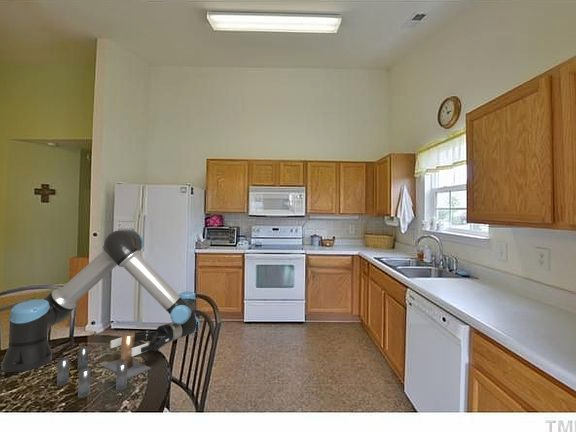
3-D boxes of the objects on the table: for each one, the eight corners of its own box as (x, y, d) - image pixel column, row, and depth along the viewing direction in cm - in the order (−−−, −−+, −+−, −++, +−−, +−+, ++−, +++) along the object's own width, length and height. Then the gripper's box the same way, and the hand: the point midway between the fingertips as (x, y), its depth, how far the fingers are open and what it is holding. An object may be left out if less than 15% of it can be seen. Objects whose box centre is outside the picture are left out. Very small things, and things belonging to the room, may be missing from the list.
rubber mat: (101, 366, 119) (102, 365, 119) (124, 358, 127) (124, 357, 127) (128, 378, 111) (128, 377, 111) (150, 369, 118) (150, 367, 118)
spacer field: (47, 379, 109) (48, 356, 109) (84, 366, 119) (85, 345, 120) (90, 404, 94) (91, 377, 95) (128, 387, 105) (129, 363, 105)
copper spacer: (117, 367, 118) (119, 335, 119) (128, 363, 122) (130, 332, 122) (124, 370, 116) (126, 337, 116) (135, 365, 120) (137, 334, 120)
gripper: (188, 347, 129) (140, 366, 110) (150, 335, 141) (102, 351, 123) (188, 329, 129) (141, 345, 111) (150, 319, 142) (103, 331, 123)
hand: (120, 348), depth 117 cm, fingers open, 13 cm apart
